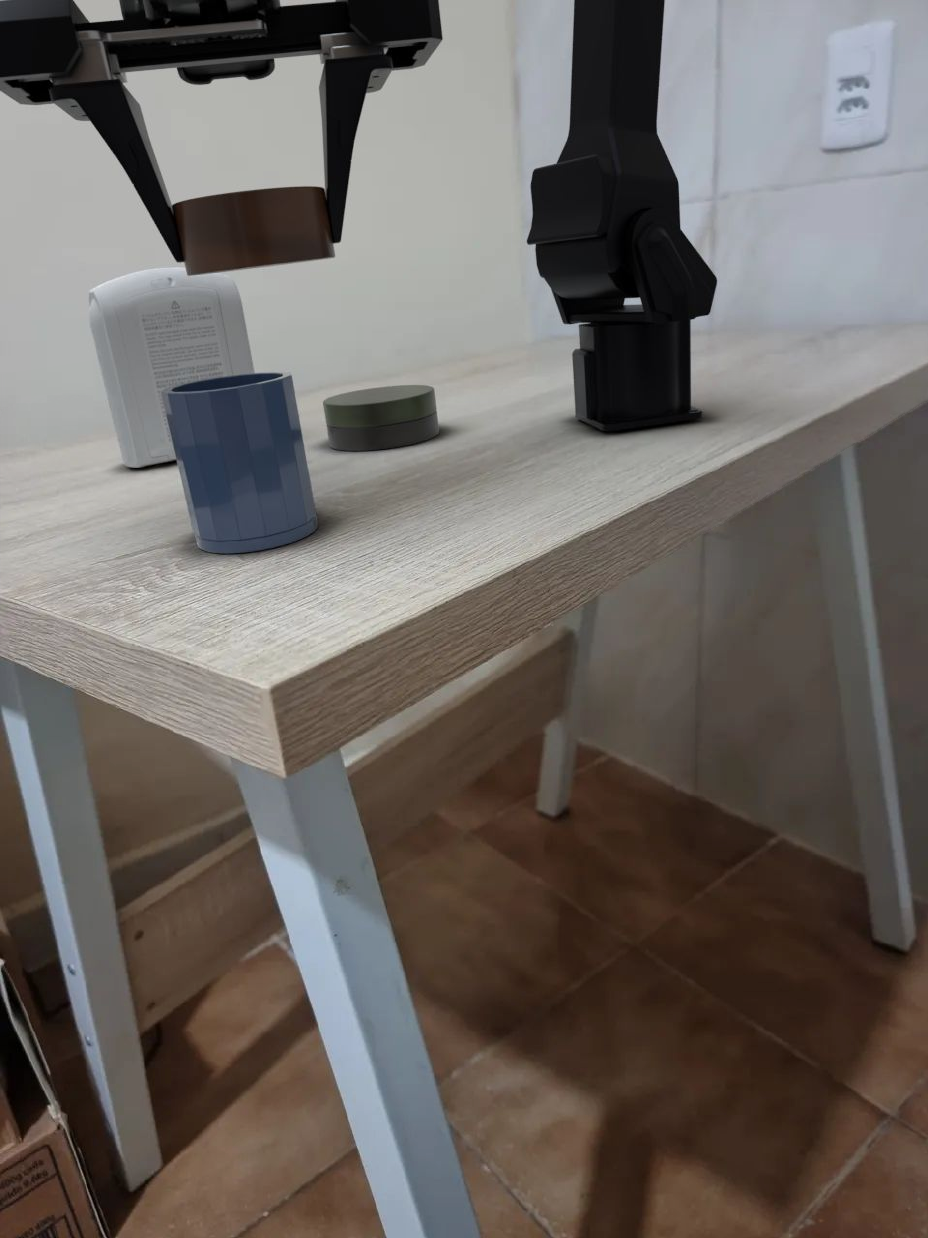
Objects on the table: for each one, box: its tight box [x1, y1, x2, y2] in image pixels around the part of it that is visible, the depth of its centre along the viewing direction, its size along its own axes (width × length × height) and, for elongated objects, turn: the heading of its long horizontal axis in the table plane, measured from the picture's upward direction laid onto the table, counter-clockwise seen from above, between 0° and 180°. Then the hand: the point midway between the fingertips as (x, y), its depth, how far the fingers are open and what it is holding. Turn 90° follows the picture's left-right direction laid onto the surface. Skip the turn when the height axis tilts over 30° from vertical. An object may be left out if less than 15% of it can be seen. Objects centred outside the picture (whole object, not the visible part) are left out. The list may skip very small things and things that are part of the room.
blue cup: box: [161, 371, 319, 554], centre depth 40 cm, size 6×6×7 cm
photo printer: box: [88, 266, 255, 469], centre depth 60 cm, size 10×4×12 cm, turn 123°
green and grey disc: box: [322, 384, 440, 452], centre depth 60 cm, size 8×8×3 cm
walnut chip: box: [172, 185, 336, 276], centre depth 41 cm, size 7×7×3 cm
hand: (260, 252), depth 41 cm, fingers closed on walnut chip, 7 cm apart
